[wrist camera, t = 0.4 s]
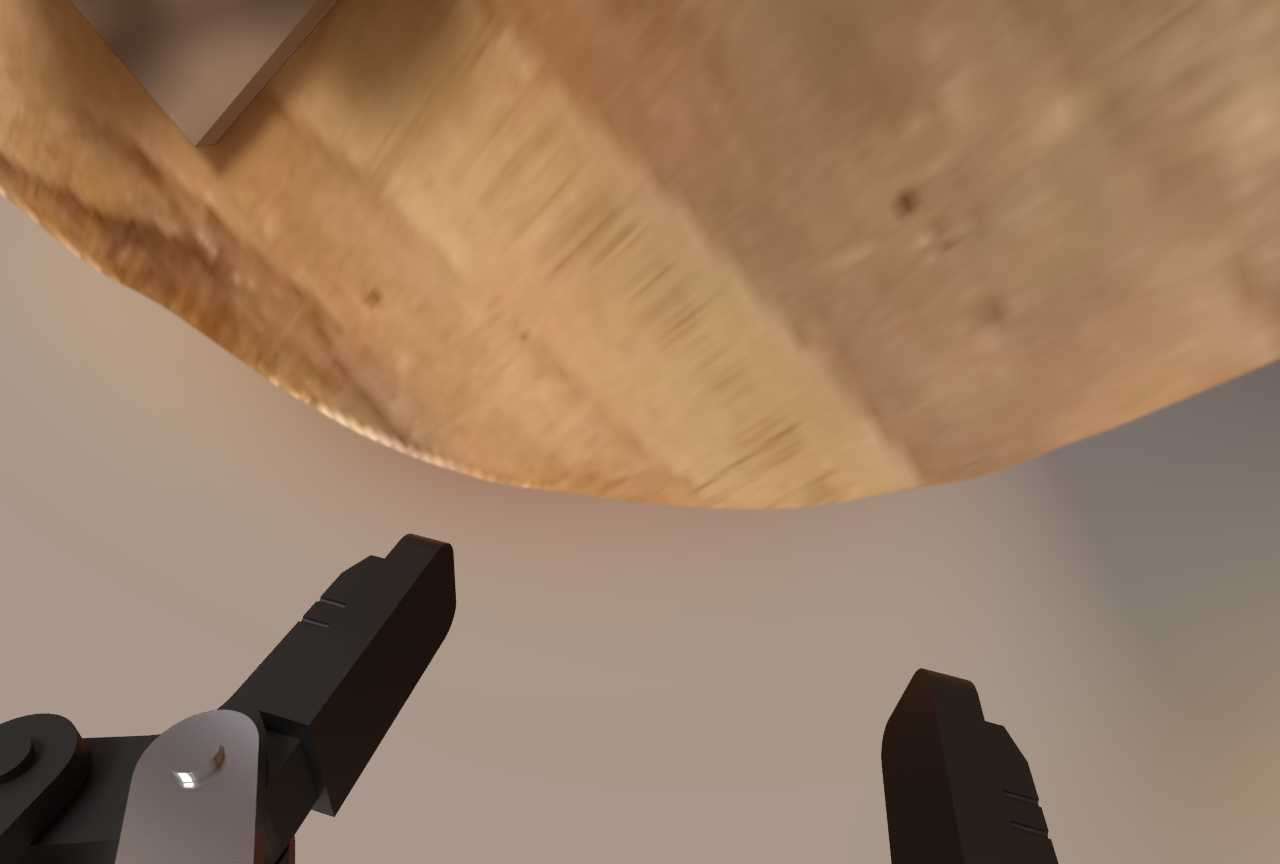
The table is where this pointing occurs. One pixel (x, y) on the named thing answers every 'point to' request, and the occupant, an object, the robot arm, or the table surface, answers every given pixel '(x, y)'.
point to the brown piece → (203, 51)
